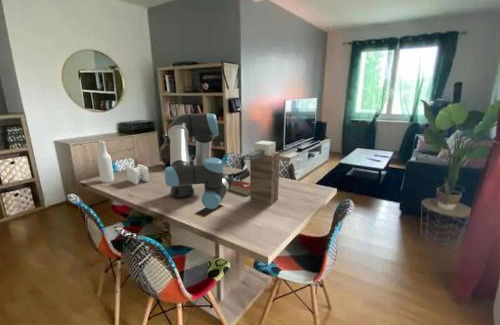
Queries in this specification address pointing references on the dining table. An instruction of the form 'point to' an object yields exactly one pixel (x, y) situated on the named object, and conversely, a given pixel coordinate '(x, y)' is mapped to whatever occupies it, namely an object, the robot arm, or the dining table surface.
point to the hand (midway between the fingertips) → (233, 166)
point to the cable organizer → (137, 174)
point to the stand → (264, 179)
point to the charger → (261, 150)
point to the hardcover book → (240, 187)
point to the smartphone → (208, 211)
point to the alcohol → (105, 164)
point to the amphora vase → (165, 152)
